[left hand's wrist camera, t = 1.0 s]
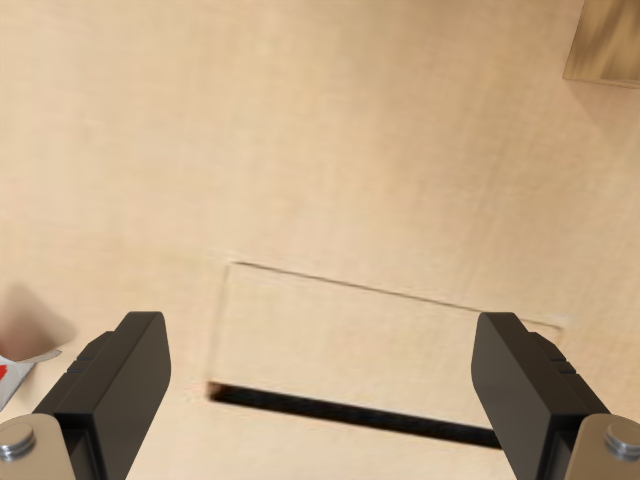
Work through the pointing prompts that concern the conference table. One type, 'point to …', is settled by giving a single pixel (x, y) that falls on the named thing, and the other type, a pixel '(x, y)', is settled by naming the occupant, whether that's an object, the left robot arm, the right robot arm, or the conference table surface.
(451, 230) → the conference table surface
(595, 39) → the box
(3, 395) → the fish
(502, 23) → the conference table surface
